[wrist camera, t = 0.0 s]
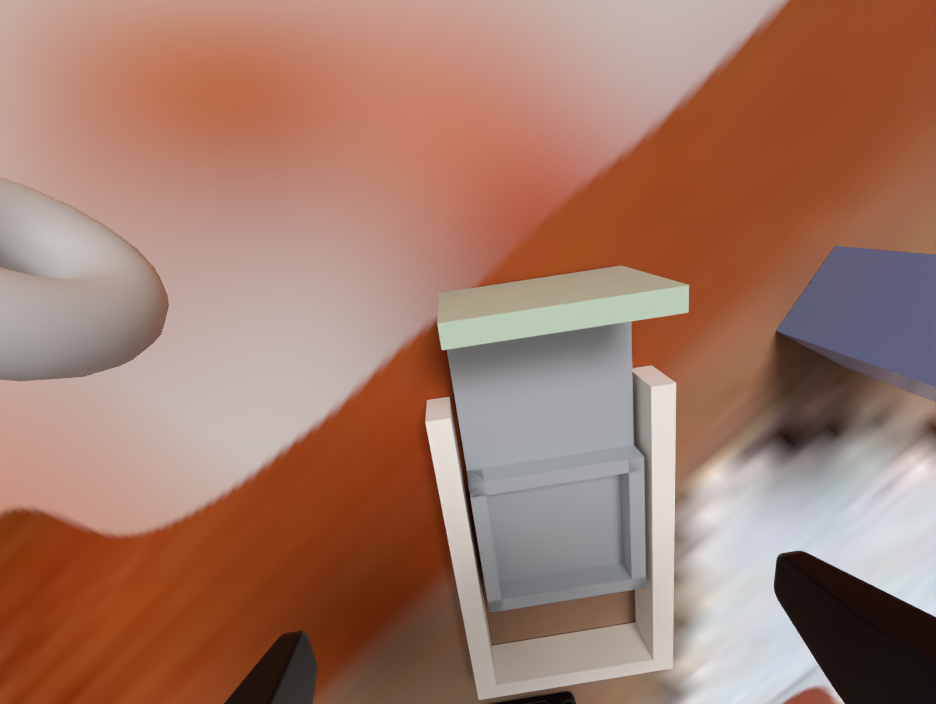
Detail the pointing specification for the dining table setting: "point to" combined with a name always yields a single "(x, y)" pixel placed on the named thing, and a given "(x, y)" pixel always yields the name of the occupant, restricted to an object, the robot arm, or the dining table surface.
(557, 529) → the tray
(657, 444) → the beige low rectangular frame
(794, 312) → the blue beige tall block
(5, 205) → the donut
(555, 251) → the dining table surface
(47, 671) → the dining table surface
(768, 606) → the dining table surface
